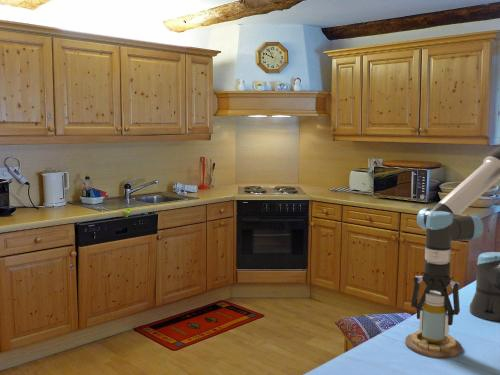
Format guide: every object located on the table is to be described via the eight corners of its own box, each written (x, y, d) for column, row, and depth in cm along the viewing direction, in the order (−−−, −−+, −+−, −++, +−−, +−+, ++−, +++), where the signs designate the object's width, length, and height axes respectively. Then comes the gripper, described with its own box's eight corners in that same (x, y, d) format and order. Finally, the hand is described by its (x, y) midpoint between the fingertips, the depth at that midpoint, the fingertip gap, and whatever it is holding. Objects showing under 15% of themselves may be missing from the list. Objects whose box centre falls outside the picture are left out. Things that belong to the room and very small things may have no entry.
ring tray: (441, 332, 178) (441, 325, 178) (473, 354, 162) (473, 347, 161) (395, 337, 174) (395, 330, 174) (423, 360, 158) (424, 352, 157)
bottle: (446, 344, 163) (449, 298, 161) (423, 342, 165) (425, 296, 163) (443, 335, 170) (445, 290, 168) (420, 333, 172) (422, 289, 170)
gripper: (402, 259, 166) (399, 328, 169) (469, 268, 156) (465, 342, 159) (408, 254, 173) (405, 321, 176) (473, 263, 162) (469, 334, 165)
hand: (433, 331), depth 167 cm, fingers closed on bottle, 7 cm apart
